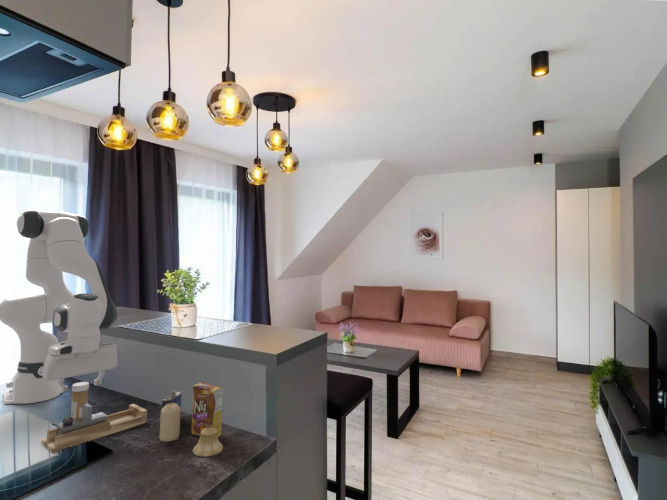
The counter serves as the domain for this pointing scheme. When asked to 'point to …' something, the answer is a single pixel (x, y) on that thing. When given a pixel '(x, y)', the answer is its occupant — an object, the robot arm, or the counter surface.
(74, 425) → the sliding block with knob
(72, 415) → the sprinkles bottle
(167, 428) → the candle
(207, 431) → the hand bell
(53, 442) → the guide rail
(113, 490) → the counter surface
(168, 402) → the flask
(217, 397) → the candy box
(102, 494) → the counter surface
